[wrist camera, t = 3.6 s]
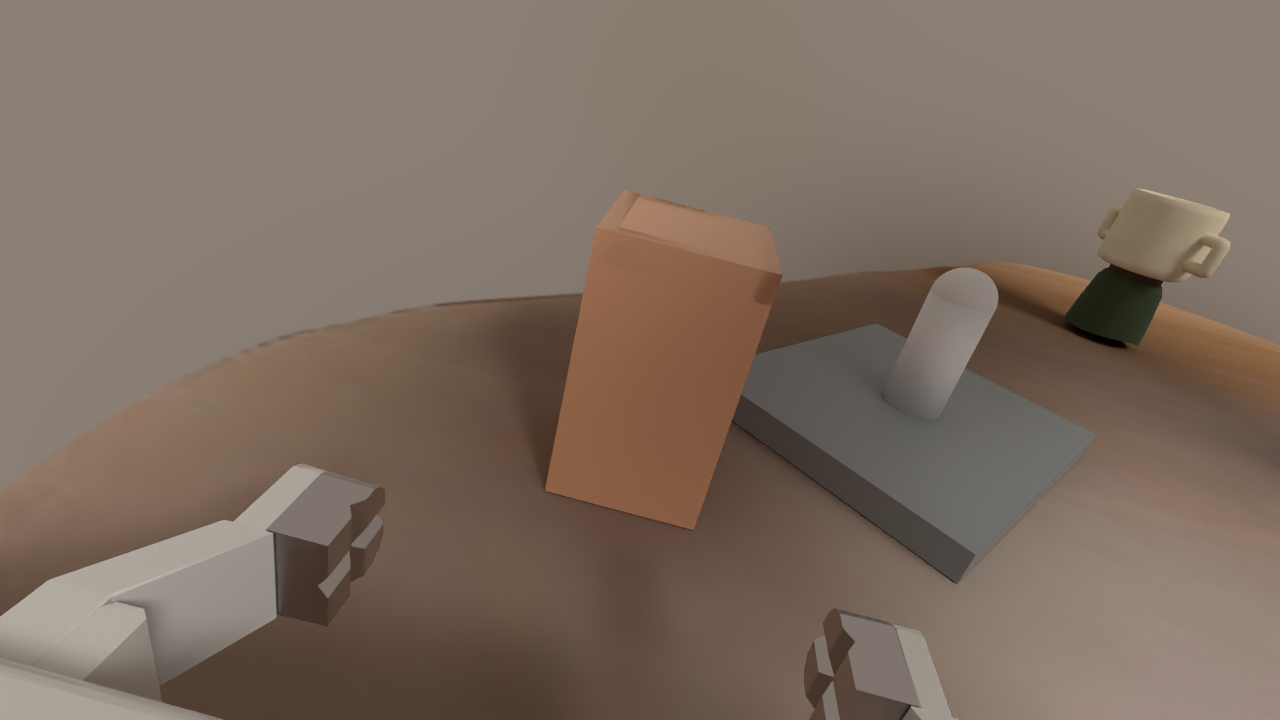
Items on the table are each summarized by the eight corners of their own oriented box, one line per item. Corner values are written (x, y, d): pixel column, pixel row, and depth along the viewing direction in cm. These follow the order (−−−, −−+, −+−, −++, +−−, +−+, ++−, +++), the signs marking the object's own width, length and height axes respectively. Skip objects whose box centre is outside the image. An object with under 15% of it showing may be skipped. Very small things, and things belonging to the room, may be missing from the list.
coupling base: (868, 342, 44) (922, 217, 39) (1082, 456, 35) (1180, 312, 31) (694, 393, 32) (747, 222, 28) (957, 584, 23) (1088, 378, 19)
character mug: (1178, 368, 55) (1278, 226, 49) (1119, 361, 53) (1216, 212, 47) (1079, 314, 64) (1153, 190, 58) (1025, 306, 62) (1097, 177, 56)
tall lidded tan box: (577, 412, 28) (624, 190, 23) (700, 444, 28) (770, 227, 23) (544, 491, 23) (596, 227, 18) (693, 530, 23) (782, 274, 18)
